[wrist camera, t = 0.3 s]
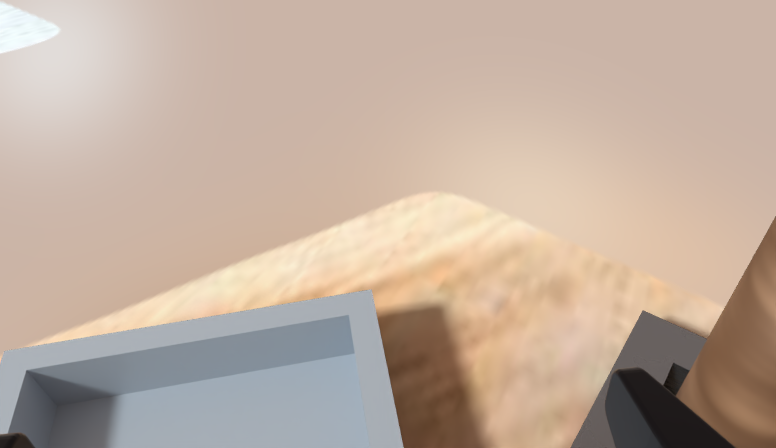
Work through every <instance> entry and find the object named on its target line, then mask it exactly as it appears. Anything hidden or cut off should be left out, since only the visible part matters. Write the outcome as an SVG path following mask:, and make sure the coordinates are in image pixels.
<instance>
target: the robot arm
mask: <svg viewBox="0 0 776 448" xmlns="http://www.w3.org/2000/svg"><path fill="white" fill-rule="evenodd" d="M605 413H606V417H607V421H608V424H609V428H610V431H611V434H612V438H613V441H614V445H615V448H736V447H735V446H734V445H732V444H731V443H730V442H729V441H728V440H727V439H725V438H724V437H723V436H722V435H721V434H719V433H718V432H717V431H716V430H715V429H714V428H712V427H711V426H710V425H709V424H708V423H707V422H705V421H704V420H703V419H702V418H701V417H700V416H698V415H697V414H696V413H695V412H694V411H692V410H691V409H690V408H689V407H688V406H687V405H685V404H684V403H683V402H682V401H681V400H680V399H678V398H677V397H676V396H675V395H674V394H673V393H671V392H670V391H669V390H668V389H667V388H665V387H664V386H663V385H662V384H661V383H660V382H658V381H657V380H656V379H655V378H654V377H653V376H651V375H650V374H649V373H648V372H647V371H645V370H644V369H642V368H639V367H630V368H621V369H616V370H615V371H614V372H613V373H612V375H611V379H610V383H609V387H608V391H607V395H606V399H605ZM0 448H35V446H34V445H33V443H32V442H31V441H30V439H29V438H28V437H27V436H26V435H25V434H23V433H21V432H17V433H8V434H0Z"/></svg>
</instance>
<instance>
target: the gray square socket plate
mask: <svg viewBox="0 0 776 448" xmlns="http://www.w3.org/2000/svg"><path fill="white" fill-rule="evenodd" d="M706 341H707V339H706V338H703V337H701V336H699V335H697V334H695V333H692V332H690V331H688V330H686V329H683V328H681V327H679V326H677V325H674V324H672V323H670V322H668V321H666V320H663V319H661V318H659V317H657V316H654V315H652V314H650V313H648V312H646V311H642V313H641V315H640V317H639V319H638V321H637V322H636V324H635V326H634V328H633V330H632V332H631V334H630V336H629V338H628V340H627V341H626V343H625V345H624V347H623V349H622V351H621V353H620V355H619V357H618V359H617V361H616V362H615V364H614V366H613V368H612V370H611V372H610V374H609V376H608V378H607V380H606V381H605V383H604V385H603V387H602V389H601V391H600V393H599V395H598V397H597V399H596V400H595V402H594V404H593V406H592V408H591V410H590V412H589V414H588V416H587V418H586V419H585V421H584V423H583V425H582V427H581V429H580V431H579V433H578V435H577V437H576V439H575V440H574V442H573V444H572V446H571V448H615V445H614V441H613V438H612V434H611V431H610V428H609V424H608V421H607V417H606V413H605V399H606V395H607V391H608V387H609V383H610V379H611V375H612V373H613V372H614V371H615V370H616V369H621V368H630V367H639V368H642V369H644V370H645V371H647V372H648V373H649V374H650V375H651V376H653V377H654V378H655V379H656V380H657V381H658V382H660V383H661V384H662V385H663V386H664V387H665V388H667V389H668V390H669V391H670V392H671V393H673V394H674V395H675V396H676V394H677V393H678V391H679V389H680V387H681V385H682V384H683V382H684V380H685V378H686V376H687V375H688V373H689V371H690V369H691V367H692V366H693V364H694V362H695V360H696V359H697V357H698V355H699V353H700V351H701V350H702V348H703V346H704V344H705V342H706Z"/></svg>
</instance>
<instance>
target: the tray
mask: <svg viewBox="0 0 776 448" xmlns="http://www.w3.org/2000/svg"><path fill="white" fill-rule="evenodd" d="M17 432H21V433H23V434H25V435H26V436H27V437H28V438H29V439H30V441H31V442H32V443H33V445H34V446H35V448H404V447H403V442H402V437H401V432H400V428H399V423H398V418H397V413H396V408H395V403H394V398H393V393H392V388H391V383H390V378H389V373H388V368H387V364H386V359H385V354H384V349H383V344H382V339H381V334H380V329H379V324H378V319H377V314H376V309H375V304H374V299H373V295H372V290H365V291H359V292H354V293H348V294H342V295H336V296H330V297H324V298H318V299H312V300H306V301H300V302H294V303H288V304H282V305H276V306H270V307H264V308H258V309H252V310H246V311H240V312H234V313H228V314H223V315H217V316H211V317H205V318H199V319H193V320H187V321H181V322H175V323H169V324H163V325H157V326H151V327H145V328H139V329H133V330H127V331H121V332H115V333H109V334H103V335H97V336H92V337H86V338H80V339H74V340H68V341H62V342H56V343H50V344H44V345H38V346H32V347H26V348H20V349H14V350H9V351H4V354H3V357H2V360H1V363H0V434H8V433H17Z"/></svg>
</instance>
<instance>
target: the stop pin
mask: <svg viewBox="0 0 776 448" xmlns="http://www.w3.org/2000/svg"><path fill="white" fill-rule="evenodd" d="M676 397H677V398H678V399H680V400H681V401H682V402H683V403H684V404H685V405H687V406H688V407H689V408H690V409H691V410H692V411H694V412H695V413H696V414H697V415H698V416H700V417H701V418H702V419H703V420H704V421H705V422H707V423H708V424H709V425H710V426H711V427H712V428H714V429H715V430H716V431H717V432H718V433H719V434H721V435H722V436H723V437H724V438H725V439H727V440H728V441H729V442H730V443H731V444H732V445H734V446H735V447H736V448H776V217H775V219H774V220H773V222H772V224H771V226H770V228H769V229H768V231H767V233H766V235H765V237H764V238H763V240H762V242H761V244H760V246H759V247H758V249H757V251H756V253H755V254H754V256H753V258H752V260H751V262H750V264H749V265H748V267H747V269H746V271H745V272H744V275H743V276H742V278H741V280H740V281H739V283H738V285H737V287H736V289H735V290H734V292H733V294H732V296H731V298H730V299H729V301H728V303H727V305H726V306H725V308H724V310H723V312H722V314H721V315H720V317H719V319H718V321H717V323H716V324H715V326H714V328H713V330H712V332H711V333H710V335H709V337H708V339H707V341H706V342H705V344H704V346H703V348H702V350H701V351H700V353H699V355H698V357H697V359H696V360H695V362H694V364H693V366H692V367H691V369H690V371H689V373H688V375H687V376H686V378H685V380H684V382H683V384H682V385H681V387H680V389H679V391H678V393H677V394H676Z"/></svg>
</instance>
